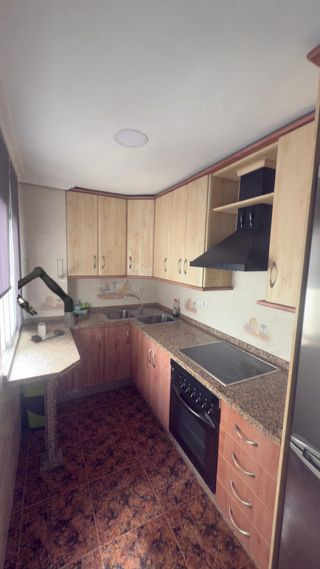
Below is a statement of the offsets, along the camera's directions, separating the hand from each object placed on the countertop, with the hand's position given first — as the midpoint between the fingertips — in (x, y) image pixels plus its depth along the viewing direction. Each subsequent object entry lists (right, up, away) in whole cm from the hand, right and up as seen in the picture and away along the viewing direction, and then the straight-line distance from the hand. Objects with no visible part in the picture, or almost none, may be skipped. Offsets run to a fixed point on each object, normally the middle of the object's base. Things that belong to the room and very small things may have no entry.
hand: (35, 314), depth 229 cm
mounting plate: (+16, -22, -6) cm, 27 cm away
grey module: (+6, -20, +2) cm, 21 cm away
